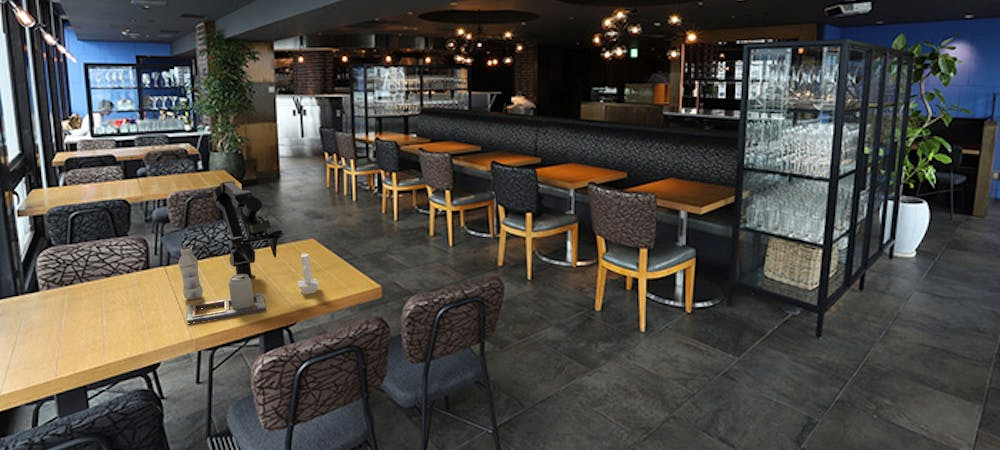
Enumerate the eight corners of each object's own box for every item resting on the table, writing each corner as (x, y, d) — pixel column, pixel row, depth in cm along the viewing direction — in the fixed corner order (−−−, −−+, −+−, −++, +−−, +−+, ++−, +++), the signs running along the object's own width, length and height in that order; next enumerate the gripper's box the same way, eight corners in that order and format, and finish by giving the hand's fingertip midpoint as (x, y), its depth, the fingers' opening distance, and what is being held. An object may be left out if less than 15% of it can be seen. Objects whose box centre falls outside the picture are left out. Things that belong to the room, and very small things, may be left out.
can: (249, 311, 214) (245, 280, 211) (228, 311, 215) (224, 280, 211) (257, 303, 222) (253, 272, 218) (237, 303, 222) (233, 272, 218)
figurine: (300, 297, 227) (296, 259, 223) (297, 289, 235) (293, 252, 231) (320, 294, 230) (316, 257, 225) (316, 286, 238) (313, 250, 234)
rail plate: (262, 296, 227) (262, 292, 227) (265, 311, 214) (265, 306, 214) (189, 308, 217) (188, 303, 217) (187, 324, 204) (187, 319, 204)
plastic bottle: (207, 296, 228) (200, 246, 223) (193, 303, 222) (185, 251, 217) (194, 294, 230) (186, 244, 225) (180, 300, 224) (171, 250, 219)
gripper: (228, 218, 215) (241, 257, 212) (280, 209, 227) (293, 246, 223) (223, 230, 224) (235, 268, 220) (273, 221, 235) (285, 257, 232)
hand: (263, 259), depth 224 cm, fingers open, 9 cm apart
